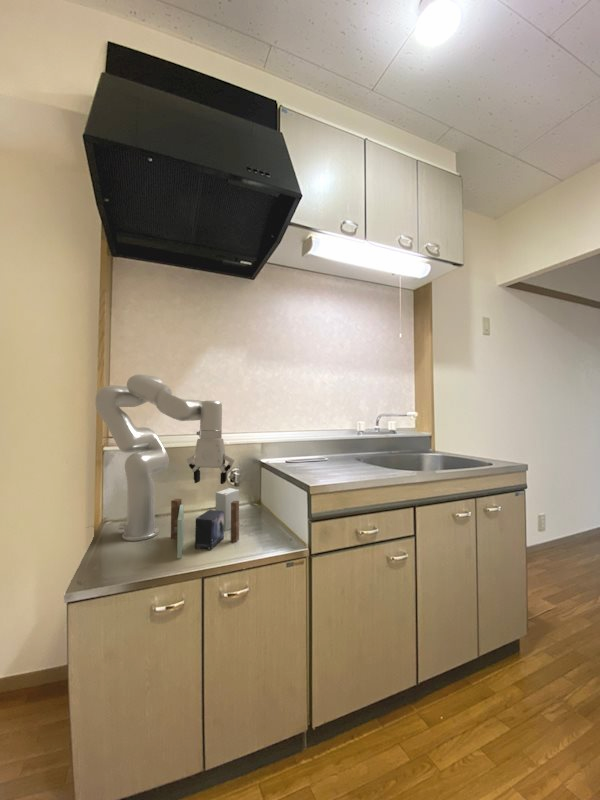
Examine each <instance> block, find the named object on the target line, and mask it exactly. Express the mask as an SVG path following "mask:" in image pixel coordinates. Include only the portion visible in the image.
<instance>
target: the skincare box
mask: <svg viewBox="0 0 600 800" xmlns="http://www.w3.org/2000/svg"><path fill="white" fill-rule="evenodd" d="M233 501H239V502H240V489H236V488H232V487H228V488H225V489H223V490H219V491H216V492H215V510H217V511H224V532H226V531H229V530H231V503H232V502H233Z"/></svg>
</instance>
